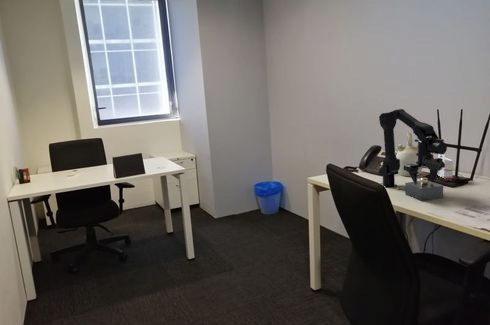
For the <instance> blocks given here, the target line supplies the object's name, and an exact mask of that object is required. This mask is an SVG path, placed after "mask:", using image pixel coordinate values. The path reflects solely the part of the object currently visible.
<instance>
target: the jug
mask: <svg viewBox="0 0 490 325" xmlns="http://www.w3.org/2000/svg"><path fill="white" fill-rule="evenodd" d="M406 143H407V145H406V146H405V147H404V146H403V144H402V143H400V144H397V145H396V146H395V149H397V150H398V151H397V152H396V154H395V156H396V158H397V159H400V169H399V171H398V175H400V176H403V177H411V176H410V174H409V173H408V172H407V171H406V170H404V165H405V164H411V163H412V164H415V165H418V164H416V162H417V161H418V156H417V155H416V153H418V144H417V146H414V145H413V134H412V132H407V133H406ZM417 171H418V174H417V177H418V176H420V175H421V173H422V171H423V168H419V169H418V170H417Z"/></svg>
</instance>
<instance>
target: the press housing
mask: <svg viewBox="0 0 490 325" xmlns="http://www.w3.org/2000/svg"><path fill="white" fill-rule="evenodd" d="M404 185H405V188H404V189H405V196H408V197H410V198H412V197H413V198H412V199H415V200H417V201H420V202H424V201H431V200H438V199H443V198H444V185H443V184H440V183H437V182H431V180H428V184H427V185H421V184H420V180H417V184H416V185H415V184H414V182H413V181H409V182H405V184H404Z"/></svg>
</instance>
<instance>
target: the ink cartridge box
mask: <svg viewBox="0 0 490 325" xmlns="http://www.w3.org/2000/svg"><path fill="white" fill-rule="evenodd" d="M437 158H442V159H443V162H444V163H445V168H442V170H440V171H438V173H437V175H438V176H440V177H442V178H444V179H446V178H454V173H453V172H454V160H453V159H450V158H447V157H446V155H445V154H442V155H441V154H437ZM437 175H436V176H437Z"/></svg>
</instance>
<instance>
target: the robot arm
mask: <svg viewBox="0 0 490 325" xmlns="http://www.w3.org/2000/svg"><path fill="white" fill-rule="evenodd" d="M378 120H379V125H380V127H381V128H382V130H383V138H384V154H385V155H384V158H383V161H382V167H380V169H379V170H378V174H379V176H381V177H382V183H381V184H383V185H384V186H385V187H384V186H383V187H384V188H392V187H397V186H398V184H396V183H395V182H396V181H395V175H399V173H398V171H399V169H400V159H397V158H396V144H395V131H394V129H395V127H396V125H397V120H399V121H401V122H402V123H403V124H404V125H406V126H407V127H409V128H410V129H411V130H412V132H413V134H414V135H415V136H416V138H415V140H413V141H414V142H416V143H417V145H418V153H416V155H417V156H418V161H417V162H416V164H418V165H415V164H412V163H411V164H405V165H404V170H406V171H407V172H408V173H409V174H410V176H409V177H410V178H411V180H412V182H414V184H415V185H416V184H417V181H418V176H417V174H418V171H417V170H418V169H419V168H422V169H424V168H426V169H428V170H429V175H430V177H429V178H430V181H431V182H434V181H435V179H436V178H437V173H438V171H440V170H442V168H445V163H444V162H443V159H442V158H438V157H437V158H434V154H436V155H438V154H441V155H442V154H443V155H445V153H447V150H448V146H447V144H446V142H445V140H444V139H443V138H442V139H440V138H439V136H438V134H437V133H436V131H435V128H434V127H433V126H432V124H429V123H426V122H422V121H420V120H418V119H417V118H415V116H412V115H411V114H409V113H408V112H407V111H405V109H404V108H403V109H402V108H397V109H394V110H392V111H389V112H382V113H380V115H379V117H378ZM434 183H435V182H434Z"/></svg>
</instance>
